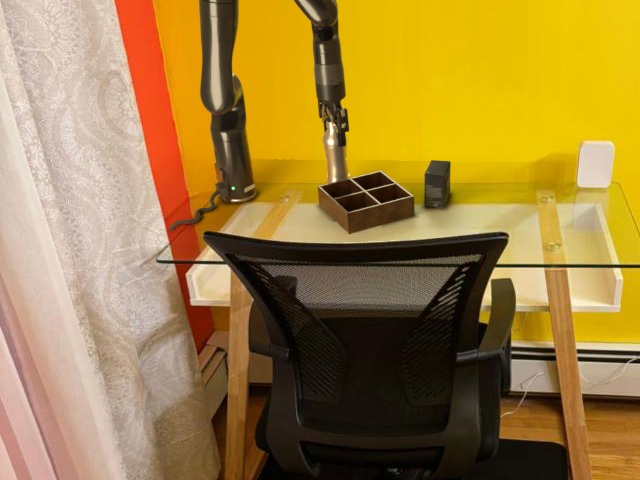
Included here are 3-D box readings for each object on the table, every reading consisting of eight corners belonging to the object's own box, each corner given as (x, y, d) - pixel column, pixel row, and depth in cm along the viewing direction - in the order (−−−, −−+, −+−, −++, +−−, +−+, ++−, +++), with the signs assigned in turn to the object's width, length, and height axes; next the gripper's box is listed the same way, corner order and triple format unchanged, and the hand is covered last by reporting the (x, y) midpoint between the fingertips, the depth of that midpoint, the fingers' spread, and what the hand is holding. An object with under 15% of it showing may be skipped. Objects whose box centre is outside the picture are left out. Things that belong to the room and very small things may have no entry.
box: (444, 209, 206) (444, 175, 200) (423, 207, 207) (423, 173, 202) (450, 193, 213) (451, 160, 208) (430, 192, 214) (430, 159, 209)
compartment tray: (348, 233, 197) (347, 213, 193) (319, 205, 210) (317, 186, 207) (414, 216, 203) (414, 196, 200) (382, 189, 217) (381, 170, 213)
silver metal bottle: (348, 196, 214) (342, 124, 202) (324, 195, 215) (317, 123, 203) (354, 186, 219) (349, 115, 207) (330, 185, 220) (324, 114, 208)
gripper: (305, 74, 202) (312, 135, 212) (327, 89, 192) (333, 153, 202) (331, 69, 205) (337, 130, 215) (355, 83, 195) (359, 146, 205)
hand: (335, 141), depth 208 cm, fingers open, 8 cm apart
